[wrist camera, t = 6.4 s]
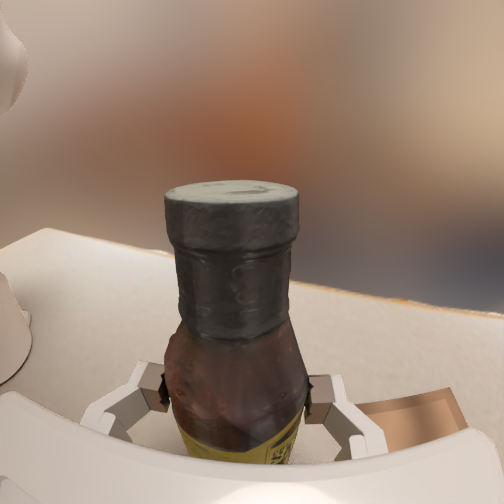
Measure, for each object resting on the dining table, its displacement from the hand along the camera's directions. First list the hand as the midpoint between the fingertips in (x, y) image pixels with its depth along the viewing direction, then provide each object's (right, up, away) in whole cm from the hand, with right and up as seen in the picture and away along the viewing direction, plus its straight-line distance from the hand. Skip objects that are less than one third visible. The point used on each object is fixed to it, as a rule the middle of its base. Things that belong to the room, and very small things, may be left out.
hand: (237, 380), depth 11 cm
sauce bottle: (0, -11, +4) cm, 12 cm away
